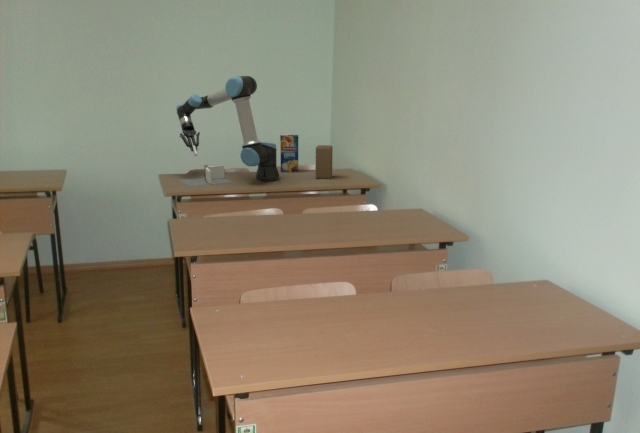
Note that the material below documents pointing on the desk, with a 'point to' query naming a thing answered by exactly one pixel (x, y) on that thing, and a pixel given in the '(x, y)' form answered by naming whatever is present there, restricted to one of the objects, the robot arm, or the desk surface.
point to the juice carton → (289, 153)
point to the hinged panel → (208, 175)
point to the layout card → (203, 181)
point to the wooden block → (324, 161)
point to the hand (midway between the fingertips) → (195, 155)
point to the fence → (215, 171)
